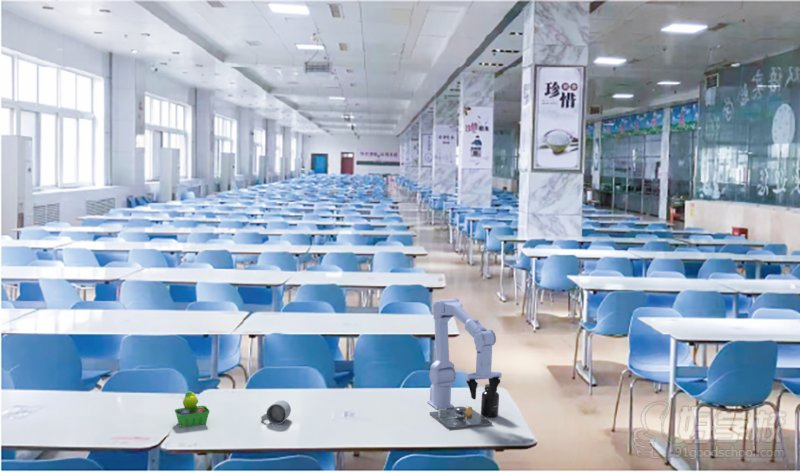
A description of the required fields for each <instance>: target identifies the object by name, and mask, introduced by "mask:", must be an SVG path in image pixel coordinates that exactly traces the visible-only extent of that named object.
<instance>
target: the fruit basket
mask: <svg viewBox="0 0 800 472" xmlns="http://www.w3.org/2000/svg"><path fill="white" fill-rule="evenodd" d="M198 403H199V399H198V398H197V396H196V393H194V392H193V391H186V392H185V395H184V398H183V400H182V405H183V407H181V408H180V407H179V408H175V409H174V412H175V416H176V418H177V419H176V420H177V423H178V424H179V426H180V427H181V428H185V427H192V426H193V427H194V426H200V425H206V424H207V422H208V417H209V414H210V412H211V410H210V409H209V408H208V407H207V406H206V405H197V404H198Z"/></svg>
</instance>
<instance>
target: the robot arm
mask: <svg viewBox="0 0 800 472" xmlns="http://www.w3.org/2000/svg"><path fill="white" fill-rule="evenodd" d="M432 305H433V306H432V307H433V308H432V309H433V310H432V312H433V319H434V320H433V321H434V339H435V340H434V343H435V345H434V346H435V361H434V362H432V364H431V365H430V367H429V369H430V371H429V374H428V375H429V377H428V378H429V381H430V383H431V385H430V387H429V388H430V389H429V401H427V403H428V404H429V405H430V406H432V408H434V409H436V410H438V409H444V408H446V409H452V408H454V409H455V405H453V404H452V403H451V399H452V397H451V396H452V386H453V385H454V382H455V381H456V377H457V372H456V368H455V364H454V362H452V361H450V353H449V352H450V349H449V346H450V345H449V324H448V323H449V321H450V320H451V319H452V318H454V317H455V318H456V319H458V320H459V321H460V322H461V323H462V324H463V325H464V329H465V330H466V332H467V333H468V334H469V335H470V336H471V337H472V338H473V341H474V342H473V343H474V345H475V351H476V357H475V358H476V361H475V362H476V363H475V372H473V373H469V374H468V373H467V374H464V381H466V383H467V386H468V388H469V391H470V396H471V397H470V398H471V399H472V400H476V398H477V389H478V384H479V383H478V382H477V381H478V380H486V379H487V380H488V384H489V396H490V397H492V398H493V397H494V394H495V391H496V388H497V389H498V386H499V385H500V383H501V379H502V372H500V371H492V363H493V362H492V361H493V360H492V359H493V346H494V345H495V343H496V342H497V337H496V334H495V332H494V330H492V329H487V328H486V327H485V326H484V325H482V323H481V322H480V321H479V319H478V318H472V317H471V316H470V315H469V314H468V312H467V311H466V310H465V309H464V307H463V303H462V301H460V299H459V298H451V299H449V298H447V299H437V300H436V301H435V302H434V303H433V304H432ZM496 392H497V391H496Z"/></svg>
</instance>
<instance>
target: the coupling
mask: <svg viewBox="0 0 800 472" xmlns="http://www.w3.org/2000/svg"><path fill="white" fill-rule="evenodd" d="M472 409H473V407H471V406H454V409H453V410H454V412H456V413H461V414H463V415H464V416H465V418H466V419H472Z"/></svg>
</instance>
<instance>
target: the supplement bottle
mask: <svg viewBox="0 0 800 472" xmlns="http://www.w3.org/2000/svg"><path fill="white" fill-rule="evenodd" d="M497 391H498V387H497V388H496V391H495V394H494V397H493V398H492V397H490V396H489V383H487V384H486V383H485V384H484V390H483V392H482V393H481V401H480V402H481V406H480V415H482V416H483V417H484V418H489V419H491V418H492V419H494V418H497V417H498V416H499V407H500V406H499V405H500V394H499V392H497Z"/></svg>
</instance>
